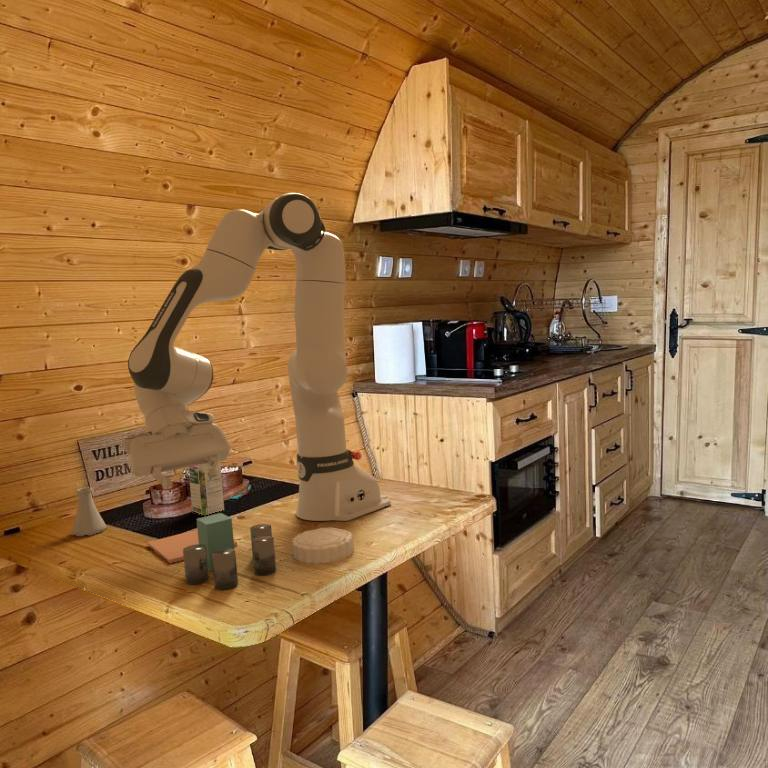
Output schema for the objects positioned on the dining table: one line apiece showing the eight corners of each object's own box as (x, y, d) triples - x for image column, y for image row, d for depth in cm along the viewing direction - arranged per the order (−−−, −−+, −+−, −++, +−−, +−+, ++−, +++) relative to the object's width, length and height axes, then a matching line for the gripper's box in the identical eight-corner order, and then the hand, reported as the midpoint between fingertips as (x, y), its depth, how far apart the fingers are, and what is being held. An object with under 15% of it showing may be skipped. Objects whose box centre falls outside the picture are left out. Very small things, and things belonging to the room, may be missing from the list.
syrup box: (191, 513, 169) (185, 454, 167) (212, 506, 173) (206, 449, 172) (204, 516, 165) (198, 456, 163) (225, 510, 169) (220, 451, 168)
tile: (211, 529, 155) (210, 526, 155) (237, 545, 144) (236, 541, 144) (147, 545, 147) (147, 542, 147) (169, 563, 136) (169, 559, 136)
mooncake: (280, 555, 137) (278, 538, 137) (327, 538, 146) (326, 521, 145) (319, 569, 129) (317, 550, 128) (366, 550, 137) (365, 533, 137)
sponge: (258, 485, 189) (239, 482, 190) (234, 498, 177) (214, 495, 179) (258, 491, 189) (238, 487, 191) (234, 504, 178) (214, 500, 179)
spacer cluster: (267, 551, 139) (265, 522, 138) (297, 568, 129) (294, 537, 129) (179, 577, 129) (175, 545, 128) (203, 597, 119) (200, 563, 118)
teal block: (225, 557, 138) (221, 512, 136) (235, 564, 133) (231, 518, 132) (200, 564, 135) (196, 518, 134) (210, 571, 131) (206, 524, 130)
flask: (93, 537, 155) (88, 493, 154) (64, 537, 157) (59, 493, 155) (112, 526, 162) (108, 484, 161) (84, 526, 164) (79, 485, 162)
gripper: (121, 427, 139) (141, 484, 133) (219, 412, 151) (242, 464, 144) (118, 446, 143) (136, 502, 137) (213, 430, 155) (235, 481, 148)
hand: (191, 482), depth 141 cm, fingers open, 8 cm apart
